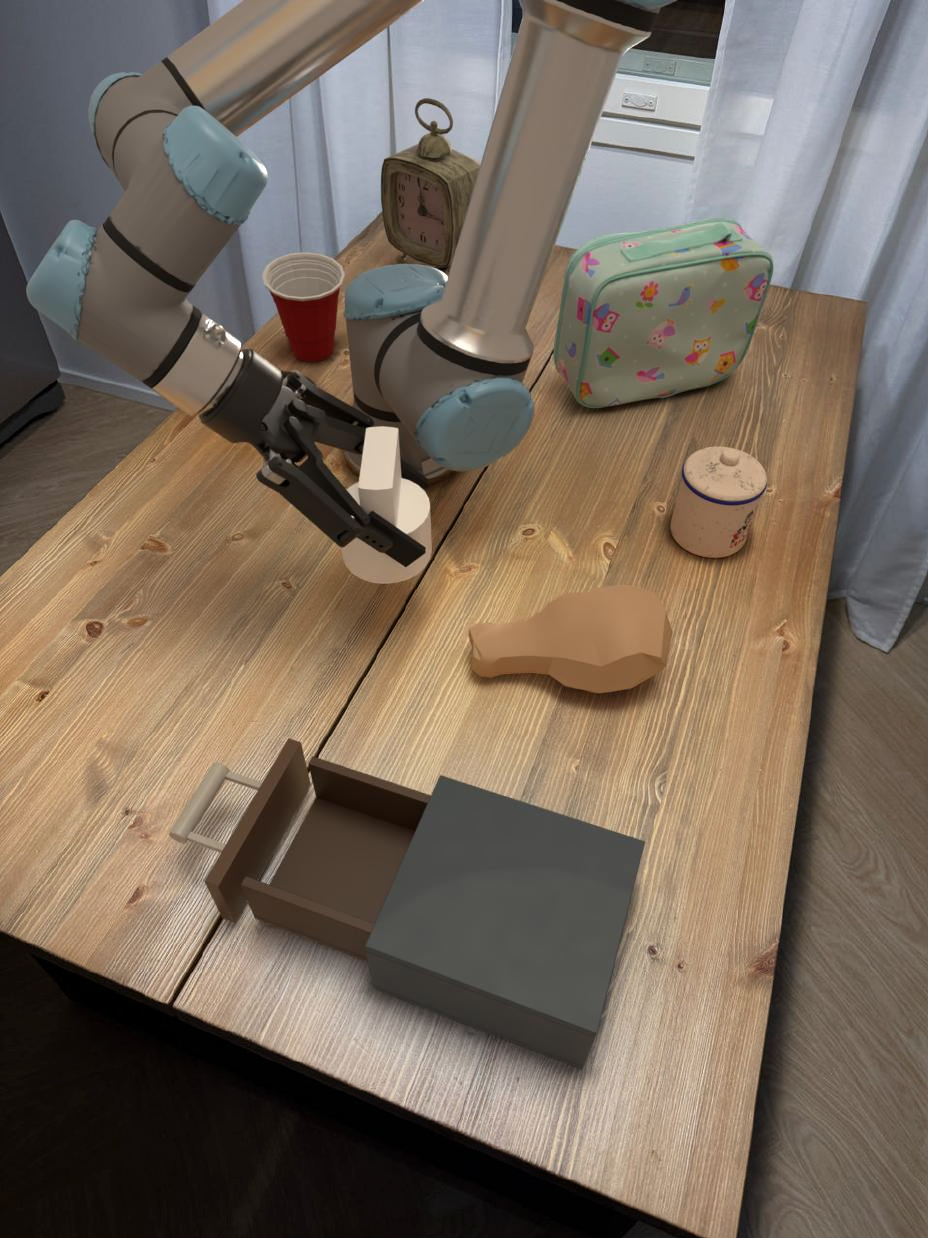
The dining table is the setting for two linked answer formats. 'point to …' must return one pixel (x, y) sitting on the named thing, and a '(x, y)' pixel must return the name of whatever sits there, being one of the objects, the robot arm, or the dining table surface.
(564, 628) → the squash
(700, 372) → the lunch box
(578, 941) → the cabinet
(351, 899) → the drawer
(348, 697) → the dining table surface
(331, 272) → the plastic cup
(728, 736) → the dining table surface
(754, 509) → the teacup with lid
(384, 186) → the tabletop clock
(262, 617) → the dining table surface
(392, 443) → the cylinder with rectangular tab
